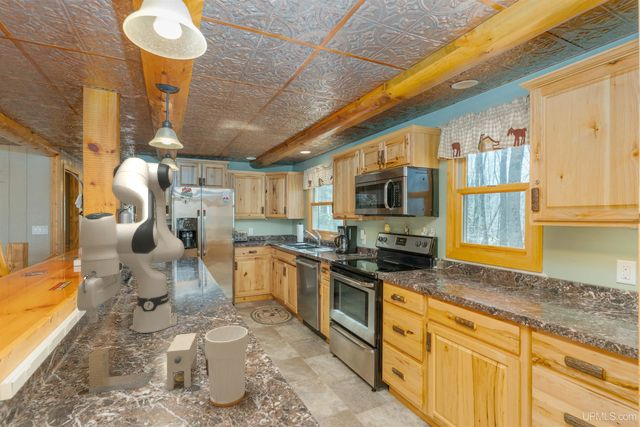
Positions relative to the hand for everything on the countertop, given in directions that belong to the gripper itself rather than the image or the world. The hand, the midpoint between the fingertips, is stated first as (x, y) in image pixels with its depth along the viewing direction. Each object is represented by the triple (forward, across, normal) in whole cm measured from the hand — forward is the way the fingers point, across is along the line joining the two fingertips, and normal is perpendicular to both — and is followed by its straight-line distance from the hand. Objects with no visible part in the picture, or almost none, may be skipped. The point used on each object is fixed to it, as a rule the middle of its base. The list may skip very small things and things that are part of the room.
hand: (101, 317), depth 88 cm
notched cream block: (+21, -1, -21) cm, 30 cm away
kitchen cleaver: (+21, +10, -30) cm, 38 cm away
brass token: (+21, -1, -21) cm, 30 cm away
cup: (+21, -14, -35) cm, 43 cm away
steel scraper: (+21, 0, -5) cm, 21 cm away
